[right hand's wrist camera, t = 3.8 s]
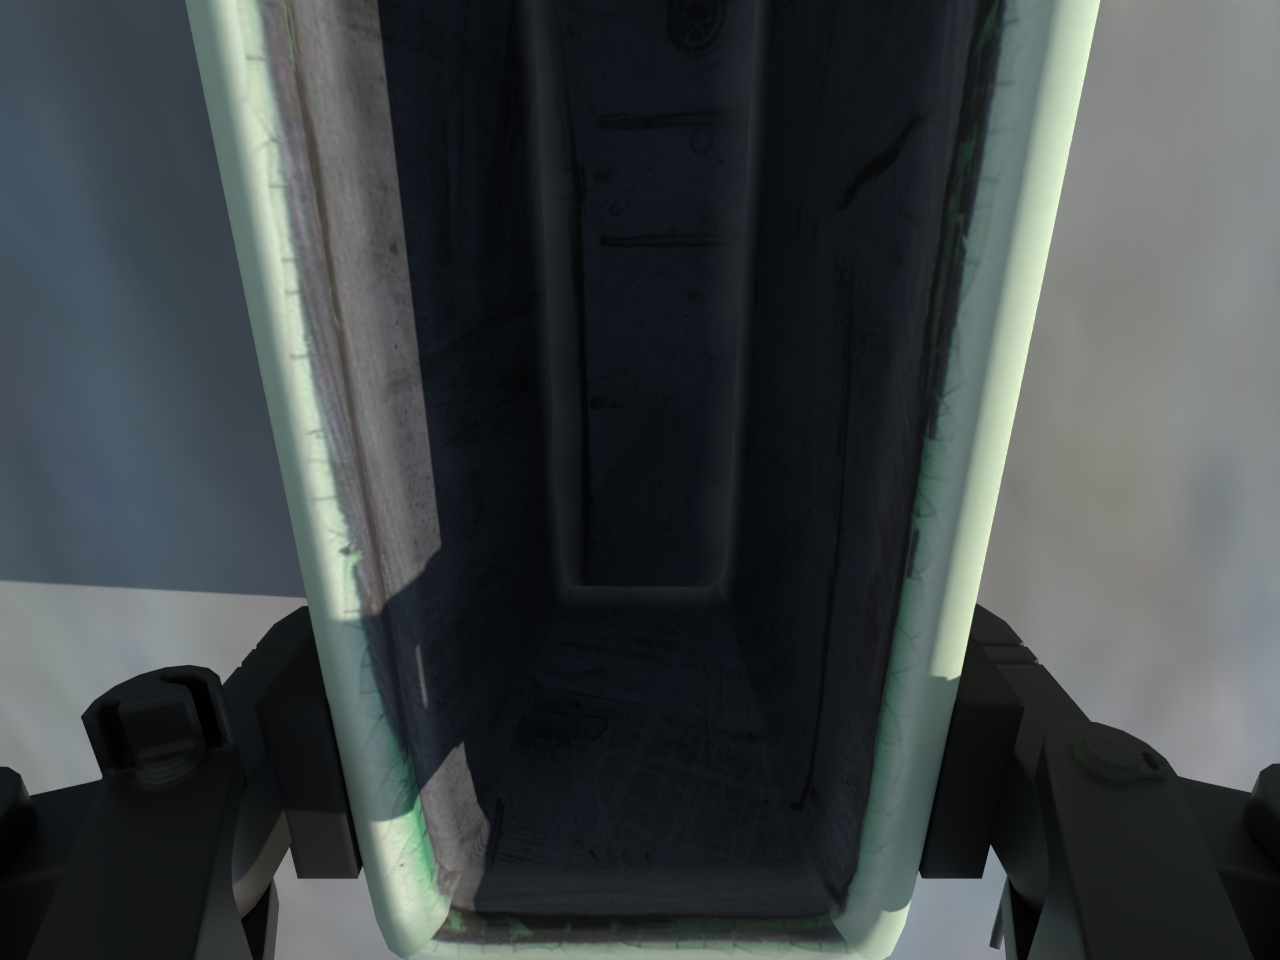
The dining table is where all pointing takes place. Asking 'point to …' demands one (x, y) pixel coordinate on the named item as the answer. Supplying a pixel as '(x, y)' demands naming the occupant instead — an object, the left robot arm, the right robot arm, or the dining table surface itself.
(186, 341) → the dining table surface
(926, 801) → the planter
